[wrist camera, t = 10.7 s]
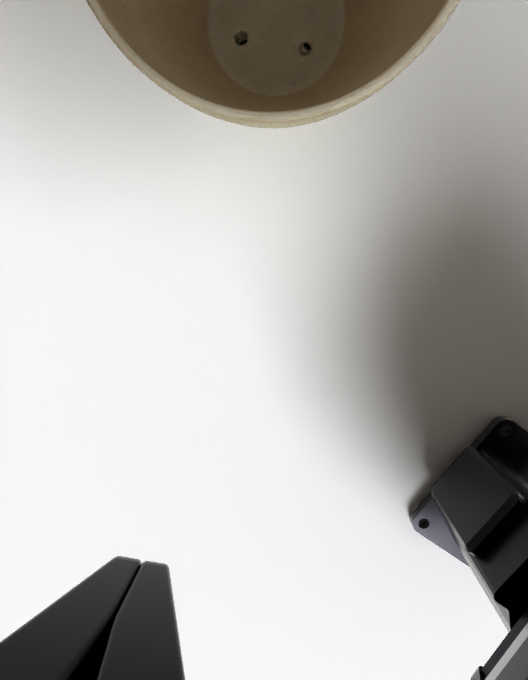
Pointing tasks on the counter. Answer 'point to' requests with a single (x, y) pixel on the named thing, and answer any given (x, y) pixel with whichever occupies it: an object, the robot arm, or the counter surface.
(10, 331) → the counter surface
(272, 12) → the flower pot
